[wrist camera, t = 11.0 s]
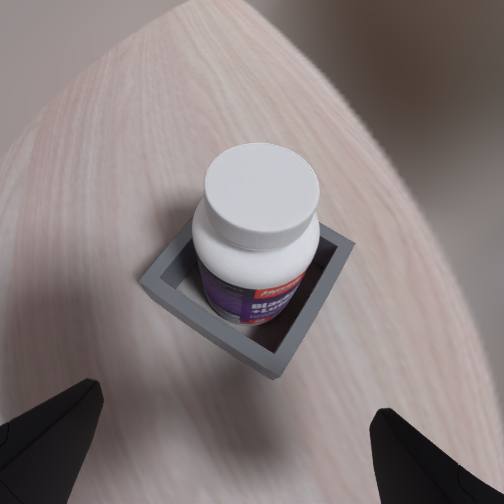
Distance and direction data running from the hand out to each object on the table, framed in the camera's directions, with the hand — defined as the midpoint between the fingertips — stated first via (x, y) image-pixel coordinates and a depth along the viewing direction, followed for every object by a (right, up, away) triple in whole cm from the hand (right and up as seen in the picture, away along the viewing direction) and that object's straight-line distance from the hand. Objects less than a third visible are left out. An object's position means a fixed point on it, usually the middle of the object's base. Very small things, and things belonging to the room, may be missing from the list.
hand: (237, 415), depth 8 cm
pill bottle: (0, +3, +11) cm, 11 cm away
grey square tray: (0, +3, +11) cm, 11 cm away
